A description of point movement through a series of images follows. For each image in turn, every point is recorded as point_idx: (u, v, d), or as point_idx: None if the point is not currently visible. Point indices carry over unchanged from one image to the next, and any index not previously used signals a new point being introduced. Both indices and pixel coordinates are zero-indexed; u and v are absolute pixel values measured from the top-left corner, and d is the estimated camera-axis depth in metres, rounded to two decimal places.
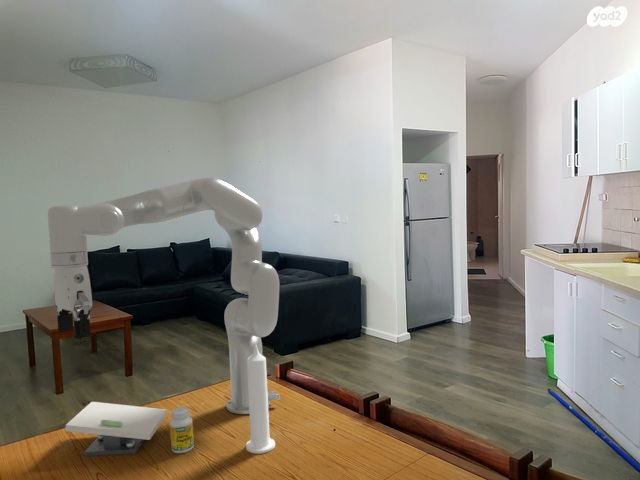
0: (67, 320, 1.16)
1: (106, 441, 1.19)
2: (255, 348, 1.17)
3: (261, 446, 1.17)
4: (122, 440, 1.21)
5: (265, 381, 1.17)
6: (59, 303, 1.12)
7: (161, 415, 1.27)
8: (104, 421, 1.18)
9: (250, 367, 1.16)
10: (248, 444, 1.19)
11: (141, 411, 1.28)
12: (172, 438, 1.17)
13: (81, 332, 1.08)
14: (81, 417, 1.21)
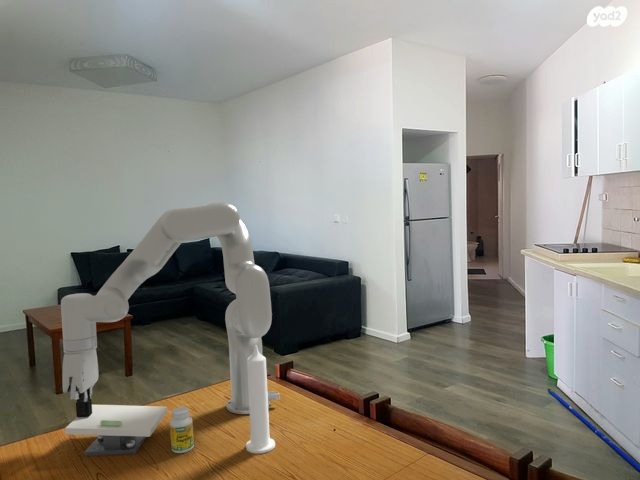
0: None
1: (106, 441, 1.19)
2: (255, 348, 1.17)
3: (261, 446, 1.17)
4: (122, 440, 1.21)
5: (265, 381, 1.17)
6: (88, 384, 1.22)
7: (161, 412, 1.27)
8: (103, 421, 1.18)
9: (250, 367, 1.16)
10: (248, 444, 1.19)
11: (141, 409, 1.28)
12: (172, 438, 1.17)
13: None
14: (80, 420, 1.21)
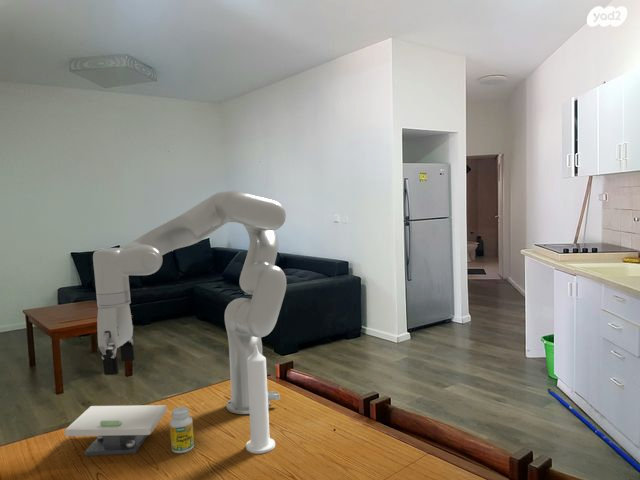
0: None
1: (106, 441, 1.19)
2: (255, 348, 1.17)
3: (261, 446, 1.17)
4: (122, 440, 1.21)
5: (265, 381, 1.17)
6: (123, 339, 1.19)
7: (160, 411, 1.27)
8: (103, 422, 1.18)
9: (250, 367, 1.16)
10: (248, 444, 1.19)
11: (141, 409, 1.28)
12: (172, 438, 1.17)
13: None
14: (80, 421, 1.21)
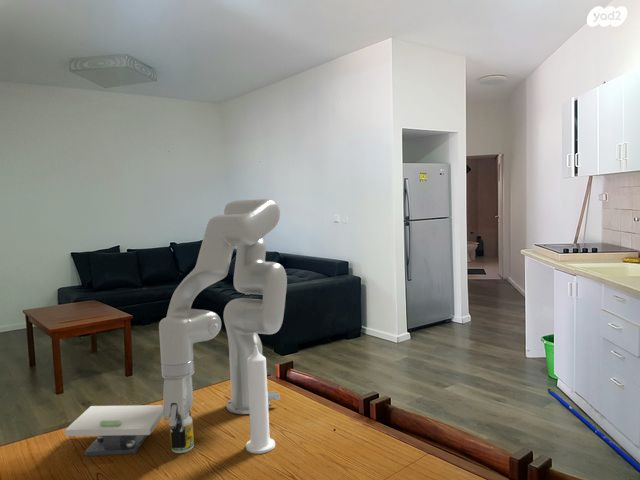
0: None
1: (106, 441, 1.19)
2: (255, 348, 1.17)
3: (261, 446, 1.17)
4: (122, 440, 1.21)
5: (265, 381, 1.17)
6: (187, 409, 1.17)
7: (160, 411, 1.27)
8: (103, 422, 1.18)
9: (250, 367, 1.16)
10: (248, 444, 1.19)
11: (141, 409, 1.28)
12: None
13: None
14: (80, 421, 1.21)
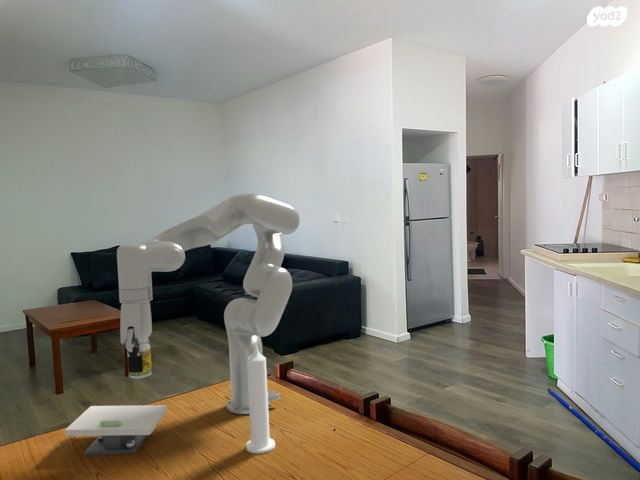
0: None
1: (106, 441, 1.19)
2: (255, 348, 1.17)
3: (261, 446, 1.17)
4: (122, 440, 1.21)
5: (265, 381, 1.17)
6: (145, 335, 1.19)
7: (160, 411, 1.27)
8: (103, 422, 1.18)
9: (250, 367, 1.16)
10: (248, 444, 1.19)
11: (141, 409, 1.28)
12: None
13: None
14: (80, 421, 1.21)
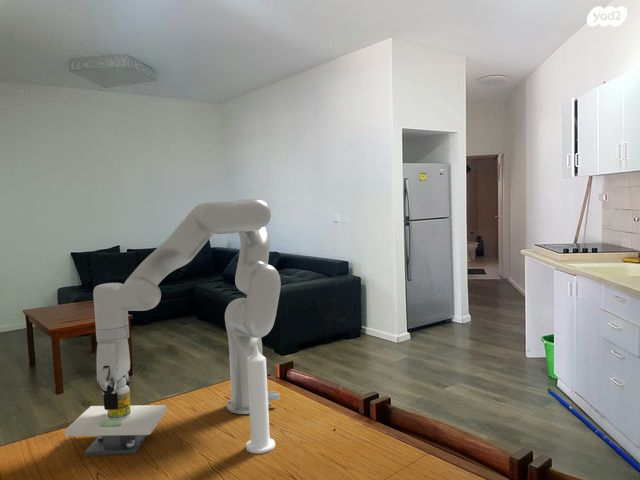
0: None
1: (106, 441, 1.19)
2: (255, 348, 1.17)
3: (261, 446, 1.17)
4: (122, 440, 1.21)
5: (265, 381, 1.17)
6: (121, 373, 1.22)
7: (160, 411, 1.27)
8: (103, 422, 1.18)
9: (250, 367, 1.16)
10: (248, 444, 1.19)
11: (141, 409, 1.28)
12: None
13: None
14: (80, 421, 1.21)
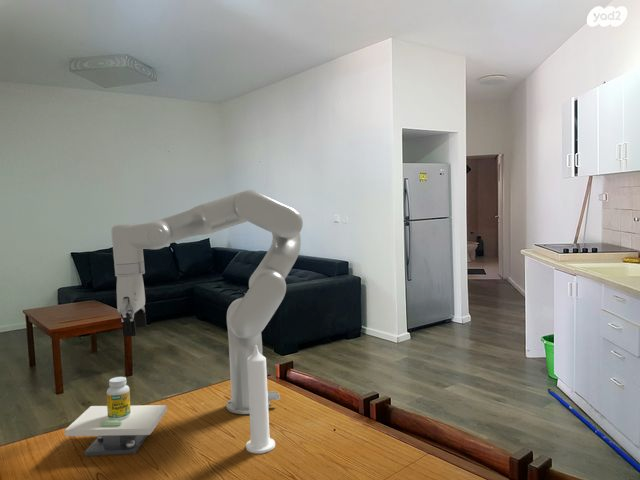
0: None
1: (106, 441, 1.19)
2: (255, 348, 1.17)
3: (261, 446, 1.17)
4: (122, 440, 1.21)
5: (265, 381, 1.17)
6: (139, 305, 1.33)
7: (160, 411, 1.27)
8: (103, 422, 1.18)
9: (250, 367, 1.16)
10: (248, 444, 1.19)
11: (141, 409, 1.28)
12: (108, 406, 1.22)
13: None
14: (80, 421, 1.21)
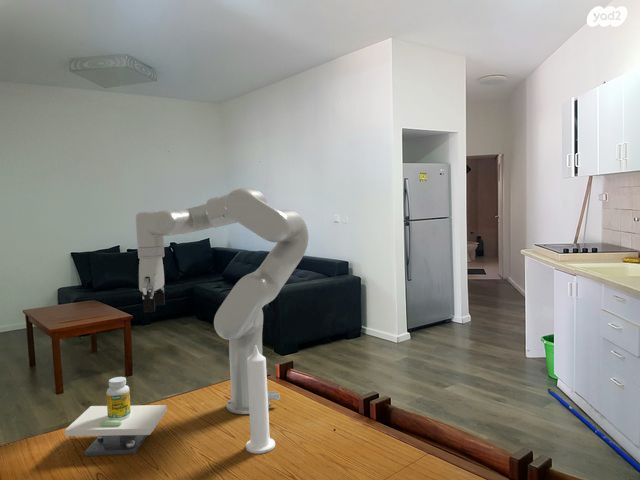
0: None
1: (106, 441, 1.19)
2: (255, 348, 1.17)
3: (261, 446, 1.17)
4: (122, 440, 1.21)
5: (265, 381, 1.17)
6: (158, 285, 1.47)
7: (160, 411, 1.27)
8: (103, 422, 1.18)
9: (250, 367, 1.16)
10: (248, 444, 1.19)
11: (141, 409, 1.28)
12: (108, 406, 1.22)
13: None
14: (80, 421, 1.21)
